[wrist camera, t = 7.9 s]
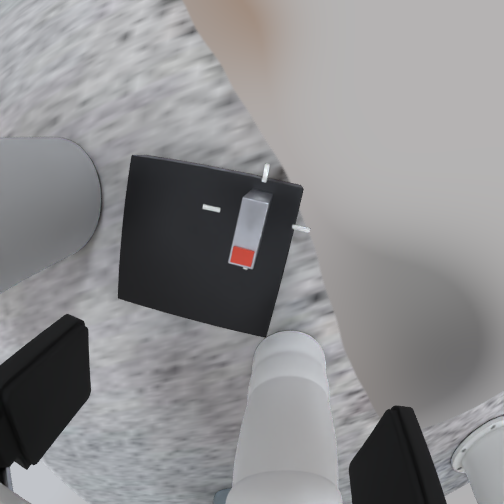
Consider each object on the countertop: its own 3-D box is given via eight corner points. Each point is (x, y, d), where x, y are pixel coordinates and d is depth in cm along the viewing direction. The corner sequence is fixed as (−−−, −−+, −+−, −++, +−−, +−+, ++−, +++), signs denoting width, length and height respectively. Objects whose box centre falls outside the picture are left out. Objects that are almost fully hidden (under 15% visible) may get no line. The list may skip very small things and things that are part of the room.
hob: (318, 174, 26) (323, 176, 23) (280, 324, 30) (279, 341, 27) (148, 141, 27) (132, 140, 24) (130, 286, 31) (116, 299, 28)
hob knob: (252, 188, 24) (241, 197, 19) (272, 193, 24) (268, 204, 19) (239, 241, 25) (226, 264, 20) (259, 246, 25) (252, 271, 20)
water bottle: (336, 341, 30) (378, 600, 6) (305, 391, 32) (305, 619, 9) (270, 317, 30) (227, 598, 6) (244, 371, 32) (189, 606, 8)
